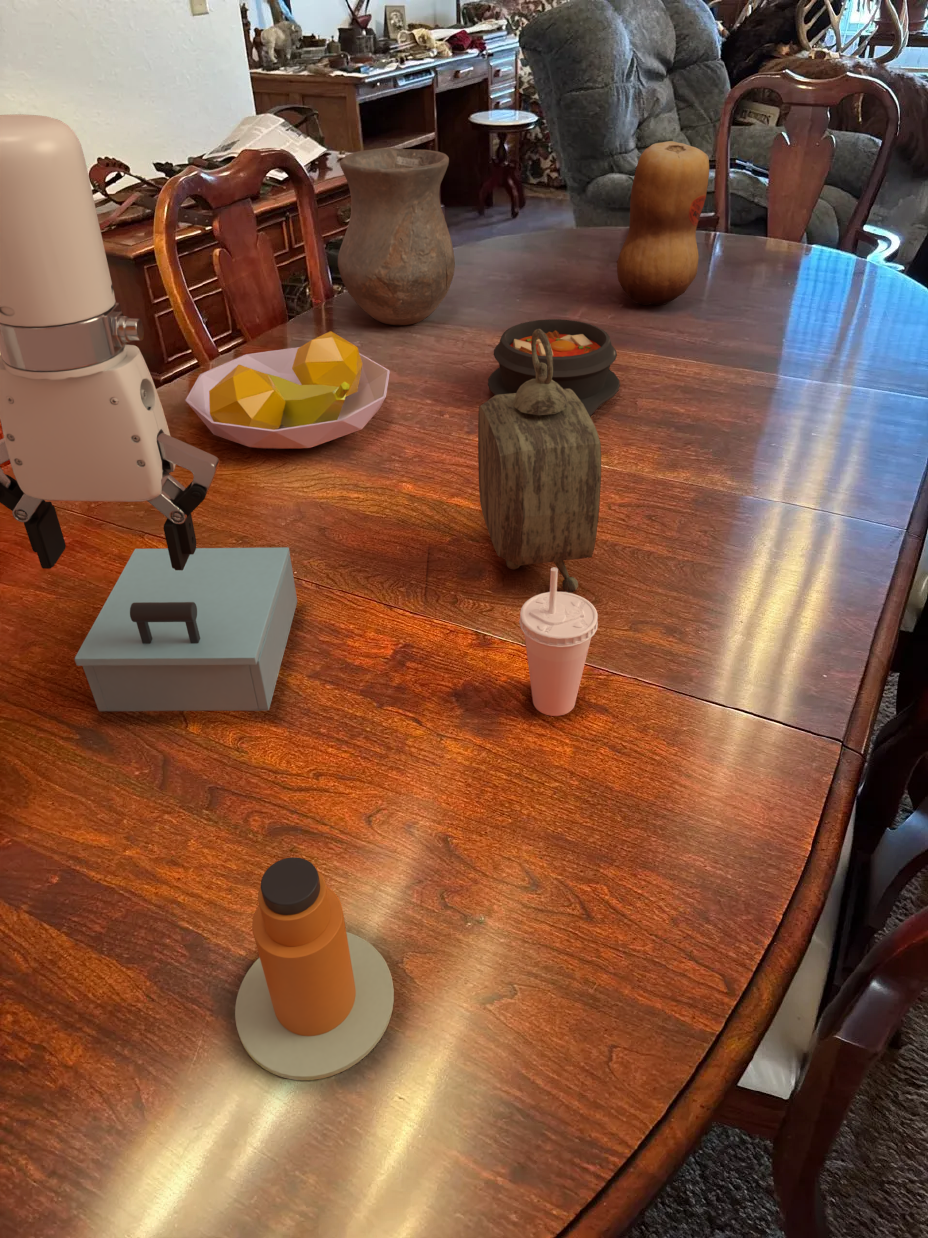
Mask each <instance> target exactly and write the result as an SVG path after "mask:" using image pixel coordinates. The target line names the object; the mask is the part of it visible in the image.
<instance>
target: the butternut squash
mask: <svg viewBox="0 0 928 1238" xmlns="http://www.w3.org/2000/svg"><path fill="white" fill-rule="evenodd" d="M709 177H710V161H709V155H708V154H707V153H706V152H704V151H703V150H701V149H700V148H697V147H695V146H691V145H689V144H686V143H683V142H677V141H672V140H669V141H664V142H656V143H653V144H651V145H650V146H648V147H647V148H645V149H644V150H643V151H642V153H641V154H640V156H639V159H638V161H637V164H636V167H635V172H634V177H633V181H632V184H631V190H630V191H631V192H630V198H629V201H630V203H629V225H628V226H629V227H628V233H627V236H626V239H625V240H624V242H623V245H622V247H621V250H620V252H619V255H618V257H617V260H616V274H617V281H618V283H619V285H620V287H621V289H622V291H623V293H624V294H626V296H627V297H628V298H629V299H630V300H631V301H632V302H634V303H636V304H637V305H641V306H642V305H643V306H647V305H652V306H653V305H654V306H661V305H666V304H668V303H670V302H673V300H675V299H677V298H679V297H680V296H682V295H684V294H685V293H686V292H687V290H688V288H689V287H690V285H691V284H692V283H693V281H695V279H696V277H697V273H698V268H699V267H698V266H699V256H700V255H699V249H698V245H697V244H698V243H697V236H696V233H697V229H698V224H699V220H700V217H701V215H702V211H703V208H704V206H705V201H706V199H707V192H708V187H709Z"/></svg>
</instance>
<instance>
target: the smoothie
mask: <svg viewBox="0 0 928 1238" xmlns="http://www.w3.org/2000/svg"><path fill="white" fill-rule="evenodd" d="M558 574H559V569H558V567H557V566H555V567H551V568H550V577H549V591H547V592H542V593H539V594H535V595H534V596H532V597H530V598H528V599H527V600H526V601H524V603H523V604H522V606H521V608H520V613H519V621H518V623H519V628H520V630H521V631H522V632H523V634H524V643H525V649H526V658H527V666H528V675H529V683H530V690H531V698H532V704H533V706H534V708H535V709H536V711H538V712H540V713H541V714H544V715H546V716H550V717H552V716H553V717H560V716H564V715H566V714H568V713H570V712H572V710H573V709H574V708H575V705H576V702H577V697H578V693H579V690H580V685H581V681H582V677H583V673H584V668H585V665H586V660H587V656H588V653H589V648H590V646H591V640H592V637H594V636H595V635H596V632H597V630H598V628H599V621H598V620H599V614H598V611H597V609H596V607H595V605H594V604H593V603H592V602H590V601H589V600H588V599H586V598H585V597H583V596H581V595H578V594H575V593H573V592H566V591H558Z"/></svg>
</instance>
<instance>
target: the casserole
mask: <svg viewBox="0 0 928 1238" xmlns="http://www.w3.org/2000/svg"><path fill="white" fill-rule="evenodd" d="M536 329H541V330H542V331H543V332H544V333H545V334H546V336H547V338H548V340H549V342H550V346H551V350H552V357H553V376H552V380H553V381H555V382H556V383H558V384H559V385H560V386H561V387H562V388H563V389H571V390H573V392H574V393H575V394H576V395H577V397H578V398H579V399H580V401H581V402H582V403H583V404H584V406H585V408H586V410H587V412H588V414H589V416H590V417H591V416H592V415H594V413H595V412H596V411H597V410H598V409H599V407H601V405H603V404H605V403H606V402H607V401H610V399H612V398H614V396H616V395H617V393H618V392H619V390H620V388H621V382H620V379H619V378H618V376H617V375H616V374H615V373H616V372H613V371H612V370H611V365H613V363H615V361H616V360H617V356H618V354H617V350H616V348H615V346H613V344H612V340H611V336H610V335H609V334H608V332H607V331H605V330H604V329H602V328H601V327H598V326H596V325H593V324H591V323H587V322H584V321H579V320H571V319H559V318H558V319H555V318H551V319H549V318H548V319H536V320H530V321H525V322H521V323H517V324H516V325H513V326H511V327H509V328H507V329H506V330H505V331H503V332H502V335H501V337H500V339H499V342H498V344H496V346H495V348H494V349H493V357H494V359H495V360H496V361H497V363H498V366H499V367H497V368H496V369H495V370H494V371H493V372H492V373H491V374H490V375H489V377H488V378H487V386H488V389H489V390H490V392H491V393H492V394H493V395H494V396H495V395H501V394H512V393H517V390H518V389H519V387H520V386H521V385H522V384H524V383H525V382H527V381H529V380H531V379H536V372H535V369H534V365H533V361H532V349H531V343H532V334H533V332H534V331H535V330H536ZM536 352H537V356H538V360H539V363H541V362H542V363H545V364H546V365H547V359H546V354H545V350H544V347H543V345H542V343H541V341H540V339H539V338H537V341H536ZM547 376H548V365H547Z"/></svg>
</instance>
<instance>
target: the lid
mask: <svg viewBox="0 0 928 1238" xmlns="http://www.w3.org/2000/svg"><path fill="white" fill-rule="evenodd" d="M289 555H290V556H291V552H290V547H289V546H286V547H285V546H284V547H282V546H281V547H280V546H279V547H196V550H195V552H194V554H190V556H189V558H188V560H187V562H186V564H185V567H184V569H183V570H175V569H174V568H172V565H171V561H170V556H169V551H168V547H166V548H134V550H133V552H132V553H131V555H130V557H129V559H128V561H127V562H126V564H125V566H124V568H123V570H122V571H121V573H120V575H119V577H118V578H117V580H116V582H115V585H114V586H113V588H112V590H111V591H110V593H109V595H108V597H107V599H106V600H105V602H104V605H103V606H102V607H101V609H100V611H99V613H98V615H97V616H96V619H95V620H94V622H93V624H92V626H91V628H90V630H89V631H88V633H87V635H86V637H85V638H84V640H83V642H82V644H81V645H80V648H79V649H78V651H77V653H76V654H75V656H74V658H73V659H74V663H75V664H76V665H75V666H77V667H83V666H134V665H256V664H257V661H258V658H259V655H260V651H261V648H262V645H263V641H264V638H265V635H266V631H267V628H268V625H269V622H270V618H271V615H272V612H273V608H274V605H275V602H276V598H277V595H278V592H279V588H280V585H281V582H282V578H283V575H284V572H285V568H286V565H287V562H288V559H289Z"/></svg>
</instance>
